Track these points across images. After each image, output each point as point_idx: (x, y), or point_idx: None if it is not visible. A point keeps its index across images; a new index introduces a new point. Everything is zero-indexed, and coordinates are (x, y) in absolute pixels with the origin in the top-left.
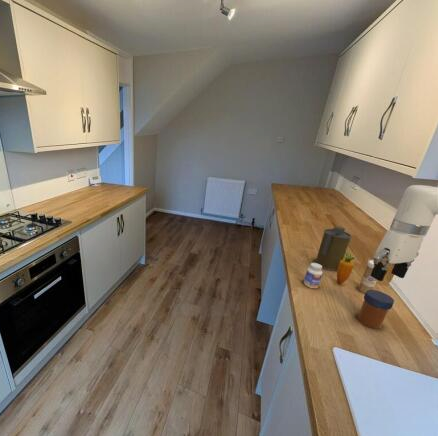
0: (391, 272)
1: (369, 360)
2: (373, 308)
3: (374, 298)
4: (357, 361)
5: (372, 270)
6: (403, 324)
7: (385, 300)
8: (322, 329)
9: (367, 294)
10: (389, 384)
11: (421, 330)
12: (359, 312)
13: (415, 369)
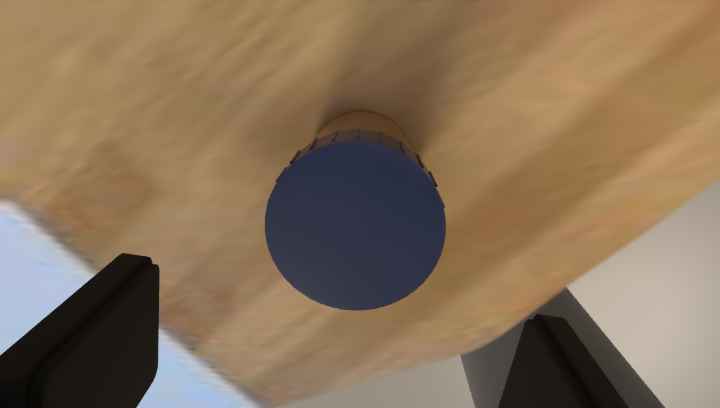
0: (528, 325)
1: None
2: None
3: (268, 234)
4: (41, 282)
5: (67, 299)
6: (520, 242)
7: (330, 278)
8: (39, 104)
9: (281, 176)
10: None
11: (549, 293)
12: (328, 125)
13: (238, 376)
